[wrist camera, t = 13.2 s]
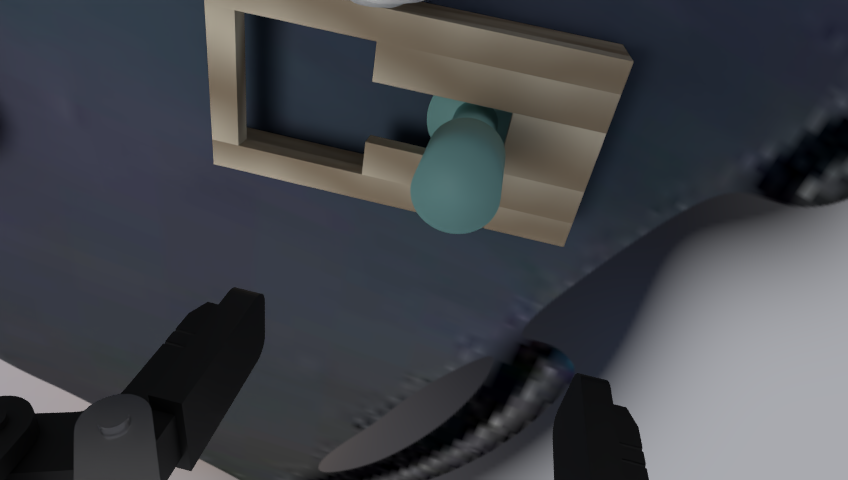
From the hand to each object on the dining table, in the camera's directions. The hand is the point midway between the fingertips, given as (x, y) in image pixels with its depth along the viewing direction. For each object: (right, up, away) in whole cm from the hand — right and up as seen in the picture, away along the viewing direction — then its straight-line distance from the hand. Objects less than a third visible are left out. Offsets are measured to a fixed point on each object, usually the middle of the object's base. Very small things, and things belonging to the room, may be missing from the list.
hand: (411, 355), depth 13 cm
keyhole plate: (0, +11, +16) cm, 19 cm away
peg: (+3, +10, +16) cm, 19 cm away
